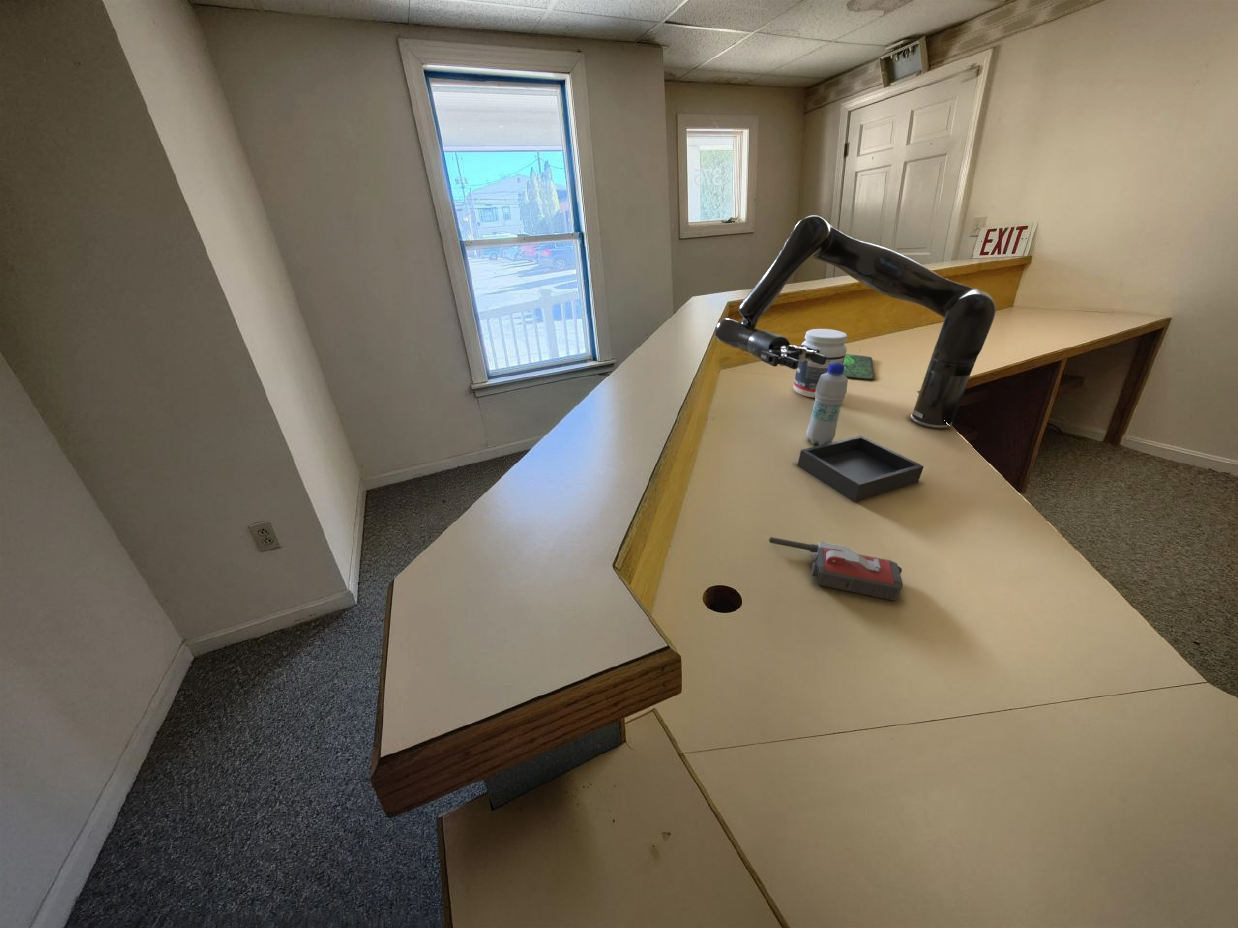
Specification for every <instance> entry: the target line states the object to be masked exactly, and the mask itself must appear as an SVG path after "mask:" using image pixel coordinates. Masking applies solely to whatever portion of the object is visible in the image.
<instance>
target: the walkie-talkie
mask: <svg viewBox="0 0 1238 928" xmlns="http://www.w3.org/2000/svg"><path fill="white" fill-rule="evenodd" d="M768 542H769V543H770V544H773V545H779V546H783V547H784V546H785V547H788V548H789V547H790V548H795V549H800V550H804V551H809V552H811V553H813V554H812V555H811V560H812V561H814V562H813V563H812V565H811V572H810V574H811V576H812V577H815V581H816V584H817V585H818V586H823V587H828V588H833V589H836V590H840V591H841V590H842V591H847V592H852V593H856V594H861V595H866V596H871V597H876V598H880V599H884V600H889V601H895V600H898V598H899V596H900V594H901V591H902V589H903V583H904V582H903V579H902V576H901V574H902V572H903V568H902V567H901V566H899V564H898V562H896V561H893V560H891V559H885V558H881V557H875V556H869V555H865V554H859V553H858V552H856V551H854V550H852V549H851V548H849V547H847V546H845V545H839V544H833V543H828V542H826V541H822V540H820V541H819V542H818V544H815V543H805V542H799V541H794V540H789V539H784V538H778V537H773V536H771V537H769V539H768Z"/></svg>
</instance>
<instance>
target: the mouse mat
mask: <svg viewBox="0 0 1238 928" xmlns="http://www.w3.org/2000/svg"><path fill="white" fill-rule="evenodd" d="M843 365H844V372H843V375H844V376H845V377H847V379H848V378H849V379H855V380H856V379H857V380H865V381H873V380H875V375H874V374H875V372H874V364H873V357H871V356H868V355H859V354H848V353H846V355H845V359H844V364H843Z"/></svg>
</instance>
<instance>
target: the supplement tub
mask: <svg viewBox="0 0 1238 928" xmlns="http://www.w3.org/2000/svg"><path fill="white" fill-rule="evenodd" d="M804 339H805V340H804V341H803V342H802V343H801V345H806V346H809V347H813V348H816V349H819V350H820V353H819V354H822V355H824V356H826V362H825V364H824V365H820V364H817V363H815V362H812V361H806V360H805V361H804V362H799V364H798V368H797V369H795V374H794V380H793V384H792V387H793V390H794V391H795V392H796V393H797V394H799V395H800V396H804V397H807V398H812V399H813V398H814V399H815V398H816V396H815V392H816V386H817V384H818V381H819V378H820V376H821V375H822V374H825V373H827V371H828V367H829V365H830V364H831V363H840V364H842V365H843V364H844V359H845V355H846V354H847V352H848V348H847V345H846V344H845V343H847V341H848V340H847V339H848V334H847V333H846V332H845V331H841V330H836V329H830V328H813V329H809V330H807V331H806V332H805V336H804ZM799 358H802V356H801V355H799ZM807 358H808V357H807Z"/></svg>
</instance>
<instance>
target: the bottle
mask: <svg viewBox="0 0 1238 928" xmlns="http://www.w3.org/2000/svg"><path fill="white" fill-rule="evenodd" d="M843 372H844V365H842V364H840V363H831V364H830V365H829V367H828V371H827V373H825V374H822V375H821V376H820V378H819V381H818V384H817V386H816V392H815V396H816V398H814V402H813V408H812V412H811V416H810V420H809V423H808V426H807V430H806V439H807V441H808V442H810V443H811V445H816V443H818V446H819V445H823V444H827V443H831V442H833V440H834V439H835V436H836V433H837V432H836V431H837V425H838V420H839V416H840V412H841V408H842V405H843V401H844V400H845V399H846V394H847V392H848V391H847V389H848V382H849V381H848V378H847V377H845V376H844V375H843Z"/></svg>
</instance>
